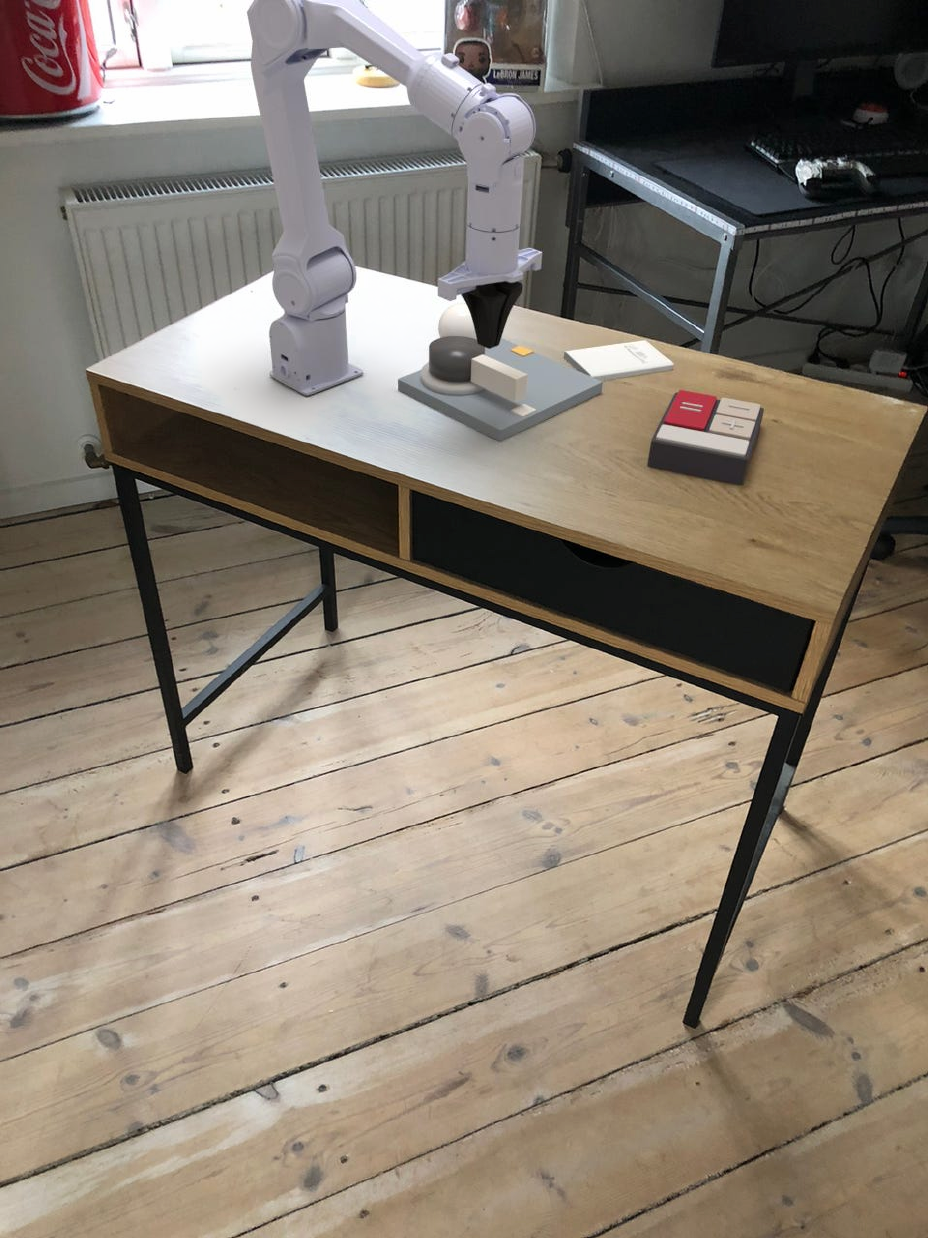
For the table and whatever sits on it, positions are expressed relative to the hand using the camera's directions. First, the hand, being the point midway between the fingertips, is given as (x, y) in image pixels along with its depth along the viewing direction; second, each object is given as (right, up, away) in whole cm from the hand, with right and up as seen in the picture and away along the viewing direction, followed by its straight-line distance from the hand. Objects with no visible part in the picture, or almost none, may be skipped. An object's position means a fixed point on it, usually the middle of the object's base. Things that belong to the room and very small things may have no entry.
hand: (488, 344), depth 118 cm
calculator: (+26, -11, +5) cm, 29 cm away
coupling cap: (-1, -2, +10) cm, 10 cm away
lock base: (+2, -2, +14) cm, 14 cm away
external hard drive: (+18, +3, +22) cm, 28 cm away
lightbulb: (-4, +11, +28) cm, 31 cm away
